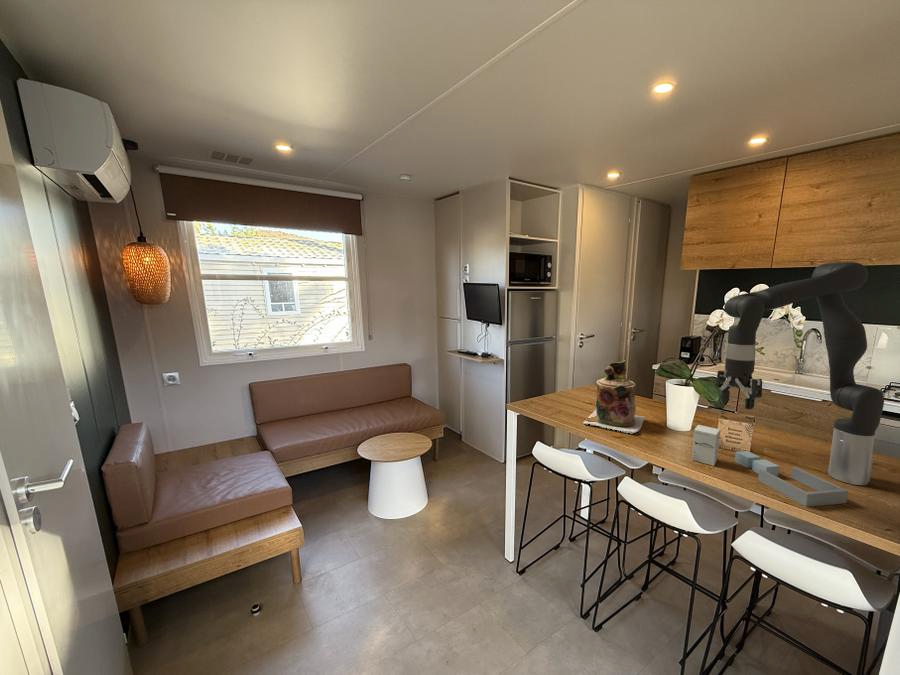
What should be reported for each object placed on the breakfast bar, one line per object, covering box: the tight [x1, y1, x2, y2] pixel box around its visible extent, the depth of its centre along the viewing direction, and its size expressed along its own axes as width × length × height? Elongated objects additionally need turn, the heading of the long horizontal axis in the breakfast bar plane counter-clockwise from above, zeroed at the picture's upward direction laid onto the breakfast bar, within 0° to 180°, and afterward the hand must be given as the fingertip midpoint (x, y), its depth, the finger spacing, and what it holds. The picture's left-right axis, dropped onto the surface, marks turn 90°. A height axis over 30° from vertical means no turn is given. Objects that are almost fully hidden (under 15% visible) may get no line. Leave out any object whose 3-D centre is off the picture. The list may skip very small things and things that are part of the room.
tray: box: [757, 466, 849, 507], centre depth 116 cm, size 14×15×4 cm
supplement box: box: [691, 424, 721, 467], centre depth 138 cm, size 7×7×13 cm
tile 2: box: [751, 459, 780, 478], centre depth 128 cm, size 5×5×4 cm
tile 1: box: [734, 450, 761, 469], centre depth 135 cm, size 5×5×4 cm
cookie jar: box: [582, 359, 646, 435], centre depth 176 cm, size 25×25×32 cm
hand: (736, 404), depth 119 cm, fingers open, 8 cm apart
